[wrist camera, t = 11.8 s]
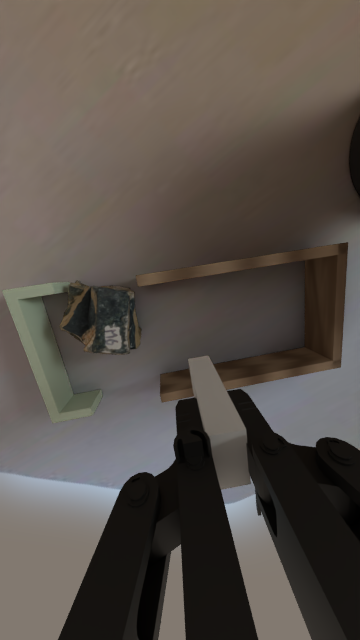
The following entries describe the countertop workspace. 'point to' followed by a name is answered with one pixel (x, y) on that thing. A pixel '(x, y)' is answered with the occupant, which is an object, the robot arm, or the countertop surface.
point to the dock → (47, 353)
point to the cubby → (320, 320)
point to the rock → (102, 318)
